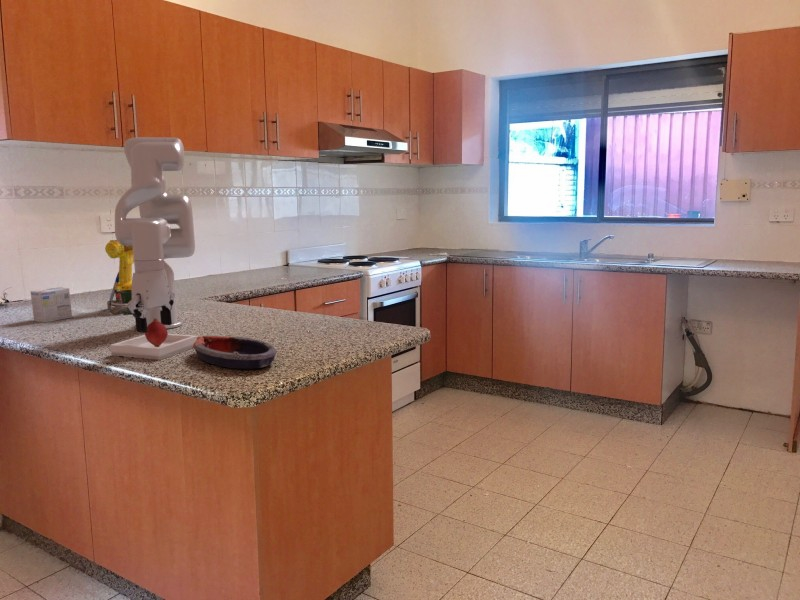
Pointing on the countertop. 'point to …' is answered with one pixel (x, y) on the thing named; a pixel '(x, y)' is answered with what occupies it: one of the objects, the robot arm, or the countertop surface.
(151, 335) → the onion
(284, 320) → the countertop surface
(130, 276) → the cordless drill
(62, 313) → the light bulb box
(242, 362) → the dish
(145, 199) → the robot arm
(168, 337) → the tray
